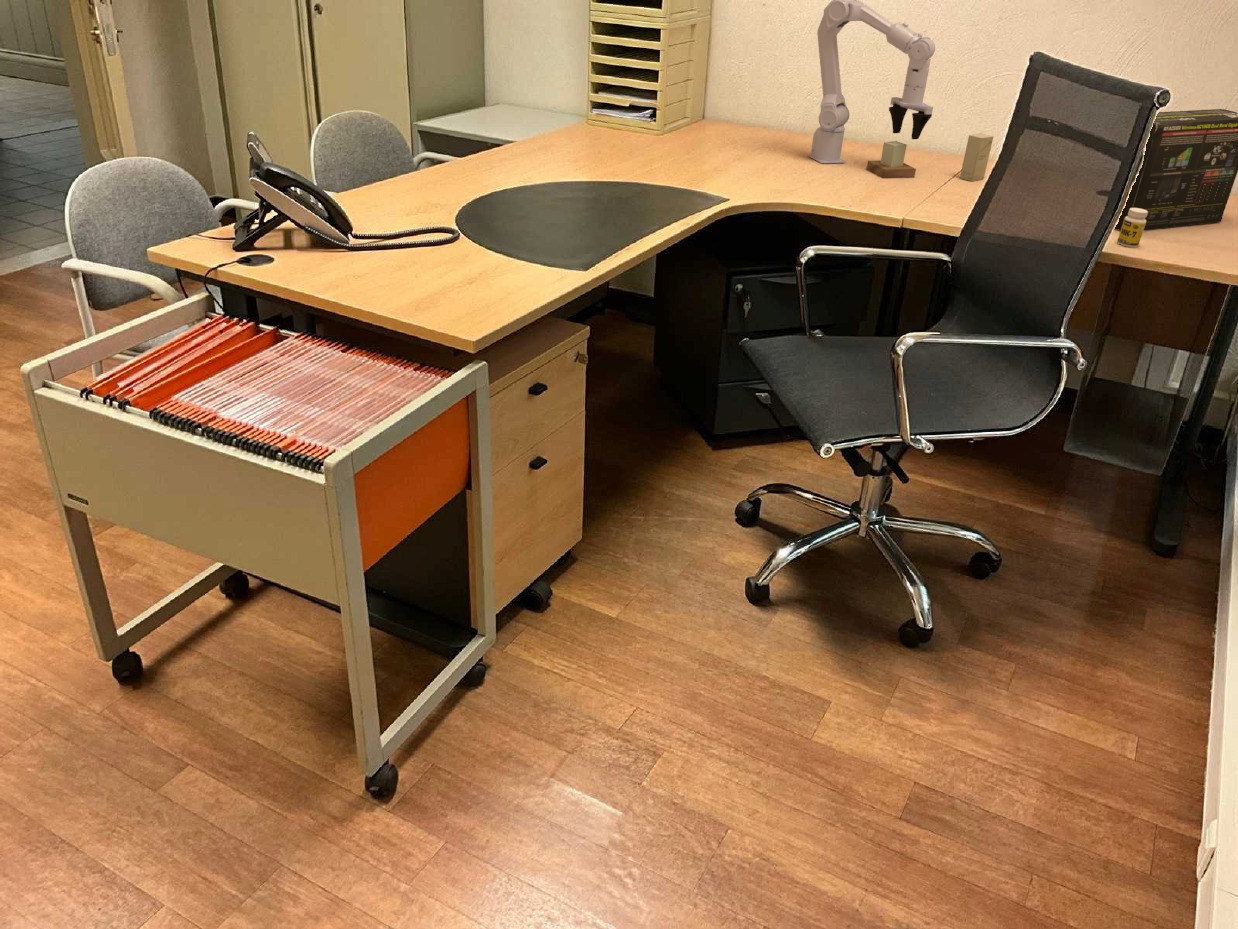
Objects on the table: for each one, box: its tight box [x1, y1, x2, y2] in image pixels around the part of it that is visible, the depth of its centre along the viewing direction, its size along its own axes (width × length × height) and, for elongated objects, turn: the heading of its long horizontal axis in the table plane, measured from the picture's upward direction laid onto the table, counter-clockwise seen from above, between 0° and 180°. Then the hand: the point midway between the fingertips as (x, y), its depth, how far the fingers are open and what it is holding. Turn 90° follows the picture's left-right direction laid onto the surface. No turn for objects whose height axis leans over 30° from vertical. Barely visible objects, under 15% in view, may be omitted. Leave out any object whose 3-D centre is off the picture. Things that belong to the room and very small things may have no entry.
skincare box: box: [959, 133, 994, 182], centre depth 281 cm, size 6×4×12 cm
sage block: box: [880, 140, 908, 167], centre depth 282 cm, size 4×4×6 cm
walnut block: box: [866, 159, 917, 180], centre depth 284 cm, size 10×10×3 cm
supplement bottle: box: [1116, 208, 1148, 248], centre depth 234 cm, size 5×5×8 cm
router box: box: [1114, 108, 1238, 231], centre depth 248 cm, size 36×11×27 cm, turn 114°
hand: (905, 135), depth 280 cm, fingers open, 7 cm apart
